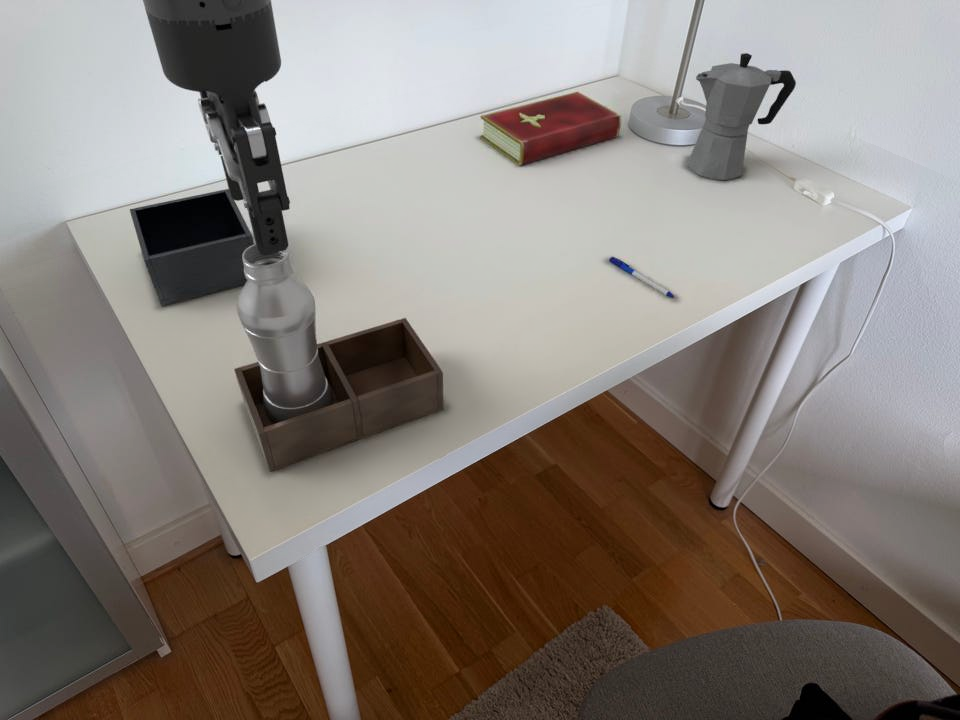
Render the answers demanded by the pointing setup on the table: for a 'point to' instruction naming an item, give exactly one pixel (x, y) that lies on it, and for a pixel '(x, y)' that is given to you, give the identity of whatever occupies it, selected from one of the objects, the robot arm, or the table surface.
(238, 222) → the dark grey open box
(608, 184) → the table surface
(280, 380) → the silver metal bottle
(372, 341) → the divided box
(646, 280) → the ballpoint pen
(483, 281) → the table surface
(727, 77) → the coffeepot
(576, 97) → the hardcover book
